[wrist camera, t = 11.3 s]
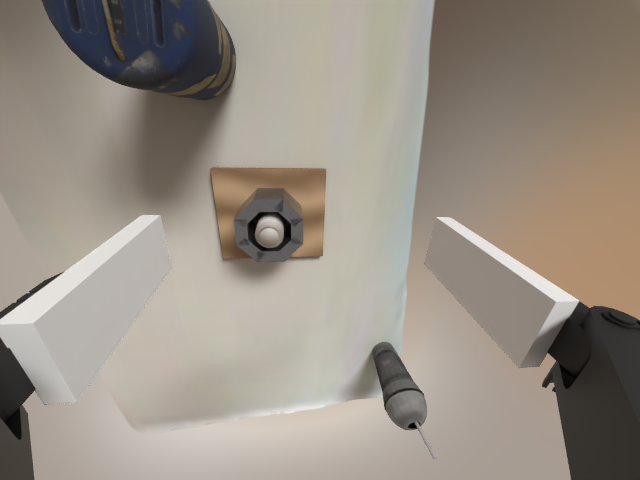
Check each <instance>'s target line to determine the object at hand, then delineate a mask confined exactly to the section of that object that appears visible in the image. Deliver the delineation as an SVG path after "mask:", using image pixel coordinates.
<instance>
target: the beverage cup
mask: <svg viewBox="0 0 640 480" xmlns="http://www.w3.org/2000/svg"><path fill="white" fill-rule="evenodd" d="M372 352H373V356H374V361H375V365H376V369H377V372H378V376H379V380H380V384H381V388H382V392H383V399H384V407H385V410H386V411H387V413H388V415H389V417H390V418H391V420H392V421H393V422H394V423H395V424H396V425H397V426H399V427H401V428H403V429H405V430H415V429H418V430H419V432H420V434H421V436H422V438H423V440H424V442H425V444H426V446H427V447H428V449H429V451H430V453H431V455H432V457H433V459H436V456H435V454H434V452H433V450H432V448H431V446H430V444H429V442H428V441H427V439H426V437H425V435H424V433H423V431H422V430H421V427H420V426H421V425H422V424H423V423H424V421H425V419H426V415H427V406H426V401H425V398H424V394H423V393H422V391H421V390H420V389H419V388H418V386H417V385H416V384H415V382H414V381H413V380H412V378H411V376H410V374H409V373H408V371H407V369H406V368H405V366H404V364H403V363H402V361H401V359H400V357H399V356H398V354H397V352H396V351H395V349H394V348H393V346H392V345H391V344H390V343H387V342H382V343H379V344H377V345H376V346H375V347H374V348H373V351H372Z"/></svg>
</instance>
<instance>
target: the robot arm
mask: <svg viewBox="0 0 640 480" xmlns="http://www.w3.org/2000/svg"><path fill="white" fill-rule="evenodd" d="M424 264H425V265H426V266H427V268H428V269H429V270H430V271H431V272H432V273H433V274H434V275H435V276H436V277H437V279H438V280H439V281H440V282H441V283H442V284H443V285H444V286H445V287H446V288H447V290H448V291H449V292H450V293H451V294H452V295H453V296H454V297H455V298H456V299H457V301H458V302H459V303H460V304H461V305H462V306H463V307H464V308H465V309H466V310H467V312H468V313H469V314H470V315H471V316H472V317H473V318H474V319H475V320H476V321H477V323H478V324H480V326H481V327H482V328H483V329H484V330H485V331H486V332H487V334H488V335H489V336H490V337H491V338H492V339H493V340H494V341H495V342H496V343H497V344H498V346H499V347H500V348H501V349H502V350H503V351H504V352H505V353H506V354H507V355H508V356H509V358H510V359H511V360H512V361H513V362H514V363H515V364H516V365H517V366H518V368H526V367H539V366H540V365H541V363H542V361H543V360H544V358H545V356H546V355H547V353H549V354H550V355H551V356H552V357H553V358H554V359H555V360H556V362H555V364H554V365H553V367H552V368H551V370H550V372H549V373H548V375H547V376H546V378H545V379H544V381H543V384H542V387H545V388H546V387H547V386H548V384H549V383H552V382H553V383H554V385H555V387H554V388H553V390H552V391H554V392H556V396H557V401H558V407H559V413H560V419H561V424H562V429H563V435H564V441H565V446H566V452H567V458H568V464H569V469H570V475H571V480H640V320H638V319H636V318H634V317H632V316H630V315H628V314H626V313H624V312H621V311H618V310H615V309H612V308H608V307H603V306H594V307H591V308H588V307H587V306H586V305H584V304H583V303H581V302H579V300H577V299H576V298H574V297H573V296H571V295H569V294H568V293H566V292H564V291H563V290H561V289H560V288H559V287H557V286H555V285H554V284H552V283H551V282H549V281H548V280H546V279H545V278H543V277H541V276H540V275H538V274H537V273H535V272H534V271H532V270H531V269H529V268H528V267H526V266H525V265H523V264H521V263H520V262H518V261H517V260H515V259H514V258H512V257H511V256H509V255H508V254H506V253H504V252H503V251H501V250H500V249H498V248H497V247H495V246H494V245H492V244H490V243H489V242H487V241H486V240H484V239H483V238H481V237H480V236H478V235H477V234H475V233H473V232H472V231H470V230H469V229H467V228H466V227H464V226H463V225H461V224H460V223H458V222H456V221H455V220H453V219H452V218H450V217H436V221H435V224H434V228H433V231H432V235H431V239H430V243H429V247H428V250H427V254H426V258H425V262H424ZM171 269H172V265H171V260H170V256H169V251H168V247H167V242H166V238H165V233H164V229H163V224H162V220H161V216H160V215H141V216H140V217H138V218H137V219H136V220H134V221H133V222H132V223H130V224H129V225H128V226H126V227H125V228H123V229H122V230H121V231H119V232H118V233H117V234H115V235H114V236H113V237H111V238H110V239H109V240H107V241H106V242H104V243H103V244H102V245H100V246H99V247H98V248H96V249H95V250H94V251H92V252H91V253H89V254H88V255H87V256H85V257H84V258H83V259H81V260H80V261H79V262H77V263H76V264H75V265H73V266H72V267H70V268H69V269H68V270H66V271H65V272H62V273H60V274H58V275H56V276H53V277H51V278H49V279H47V280H45V281H43V282H42V283H41V284H39V285H38V286H36V287H35V288H33V289H32V290H31V291H29V292H30V293H28V294H25V295H24V296H22V297H21V298H20V299H18V300H17V302H16V303H12V304H11V305H10V306H8V307H7V308H5V309H4V310H3V311H1V312H0V480H34V471H33V462H32V452H31V442H30V432H29V422H28V413H27V412H26V410H25V408H24V407H23V405H22V404H23V403H24V402H25V401H26V399H27V398H28V397H29V396H30V395H31V394H32V393H33V391H34V390H35V391H36V393H37V395H38V396H39V398H40V399H41V401H42V402H43V404H44V405H51V404H64V403H76V402H78V400H79V399H80V398H81V396H82V395H83V393H84V392H85V391H86V389H87V388H88V386H89V384H91V382H92V381H93V379H94V378H95V376H96V375H97V374H98V372H99V371H100V369H101V368H102V367H103V365H104V364H105V362H106V361H107V360H108V358H109V357H110V355H111V354H112V352H113V351H114V350H115V348H116V347H117V345H118V344H119V343H120V341H121V340H122V338H123V337H124V336H125V334H126V333H127V331H128V330H129V328H130V327H131V326H132V324H133V323H134V321H135V320H136V319H137V317H138V316H139V314H140V313H141V312H142V310H143V309H144V307H145V306H146V304H147V303H148V302H149V300H150V299H151V297H152V296H153V295H154V293H155V292H156V290H157V289H158V288H159V286H160V285H161V283H162V282H163V280H164V279H165V278H166V276H167V275H168V273H169V272H170V271H171Z"/></svg>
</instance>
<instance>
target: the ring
mask: <svg viewBox="0 0 640 480" xmlns="http://www.w3.org/2000/svg"><path fill="white" fill-rule="evenodd" d="M259 212H279V213H280V214H281V215H282V216H283V217H284V218H285V219H286V220H287V221H289V222H290V223H291V224H290V225H289V226H288V227H287V228H286V229H285V230H284V237H283V240H282V242H281V243H280V244H279V245H278V246H276V247H273V248H266V247H263V246H261V245H260V244H259V243H258V242H257V240H256V238H255V231H256V226H255V225H254V222H253V218H254V217H255V216H256V215H257V214H258V213H259ZM234 227H235V236H236V245H237V246H238V247H239V248H240V249H242V250H243V251H244V252H246V253H247V254H248V255H249V256H251V257H252V258H253V259H255V260H256V261H257V262H276V261H285V260H286V259H288V258H289V257H290V256H291V255H292V254H293V253H294V252H295V251H296V250H297V249H298V248H300V247H301V246H302V245H303V214H302V208H301V205H300V204H299V203H298V202H297V201H296V200H295V199H294V198H293V197H292V196H291V195H290V194H289V193H288V192H287V191H286V190H285V189H284V188H257V189H256V190H255V191H254V192H253V193H252V194H251V196H250V197H249V198H248V199H247V200H246V201H245V202H244V203H243V204H242V205H241V206H240V208H239V210H238V212H237V214H236V216H235V218H234Z"/></svg>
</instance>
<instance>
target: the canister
mask: <svg viewBox="0 0 640 480" xmlns="http://www.w3.org/2000/svg"><path fill="white" fill-rule="evenodd" d="M42 2H43V4H44V7H45V10H46V12H47V14H48V16H49V19H50V20H51V22H52V24H53V25H54V27H55V28H56V30H57V31H58V32H59V34H60V36H61V38H62V39H63V40H64V42H65V43H66V44H67V45H68V47H69V48H70V49H71V50H72V51H73V52H74V53H75V54H76V55H77V56H78V57H79V58H80V59H81V60H82V61H83V62H84V63H85V64H86V65H88V66H89V67H90V68H91V69H93V70H94V71H96V72H98V73H99V74H101V75H102V76H104V77H106V78H108V79H110V80H112V81H114V82H116V83H119V84H121V85H125V86H128V87H132V88H137V89H142V90H148V91H154V92H159V93H164V94H169V95H173V96H179V97H185V98H192V99H197V100H206V99H211V98H214V97H216V96H218V95H220V94H221V93H223V92H224V91H225V90H226V89H227V88H228V86H229V85H230V83H231V81H232V79H233V77H234V74H235V69H236V54H235V49H234V45H233V42H232V39H231V37H230V34H229V32H228V31H227V29H226V27H225V26H224V24H223V23H222V21H221V20H220V18H219V17H218V15H217V14H216V13H215V11H214V9H213V8H212V6H211V4H210V3H209V1H208V0H42Z"/></svg>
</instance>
